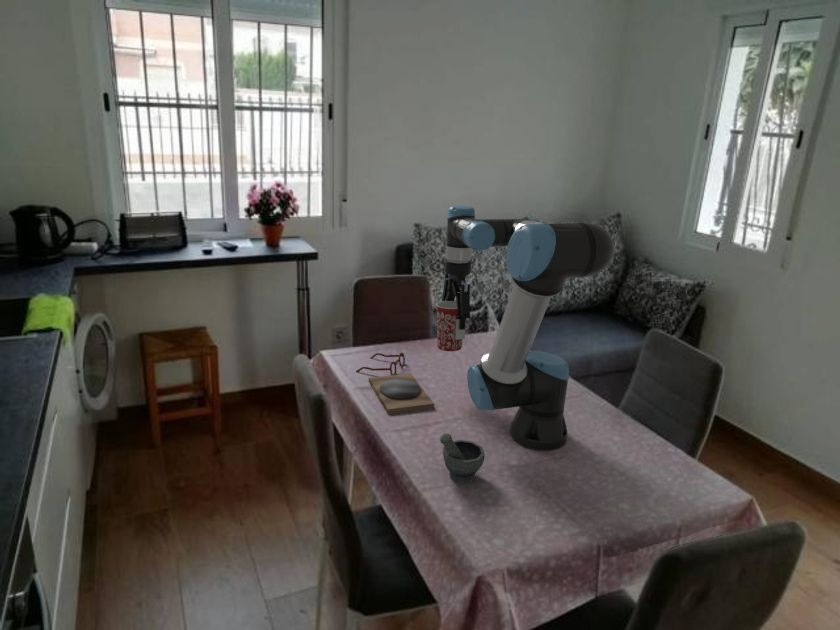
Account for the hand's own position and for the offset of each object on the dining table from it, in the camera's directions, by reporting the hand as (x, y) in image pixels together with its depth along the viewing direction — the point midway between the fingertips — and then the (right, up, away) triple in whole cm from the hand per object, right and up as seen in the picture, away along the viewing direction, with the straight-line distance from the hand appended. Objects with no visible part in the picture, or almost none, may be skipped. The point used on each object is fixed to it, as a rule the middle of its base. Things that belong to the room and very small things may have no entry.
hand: (453, 333), depth 182 cm
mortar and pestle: (-1, -33, -38) cm, 50 cm away
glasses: (-23, -13, +21) cm, 34 cm away
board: (-16, -19, +2) cm, 25 cm away
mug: (0, -4, +1) cm, 5 cm away
